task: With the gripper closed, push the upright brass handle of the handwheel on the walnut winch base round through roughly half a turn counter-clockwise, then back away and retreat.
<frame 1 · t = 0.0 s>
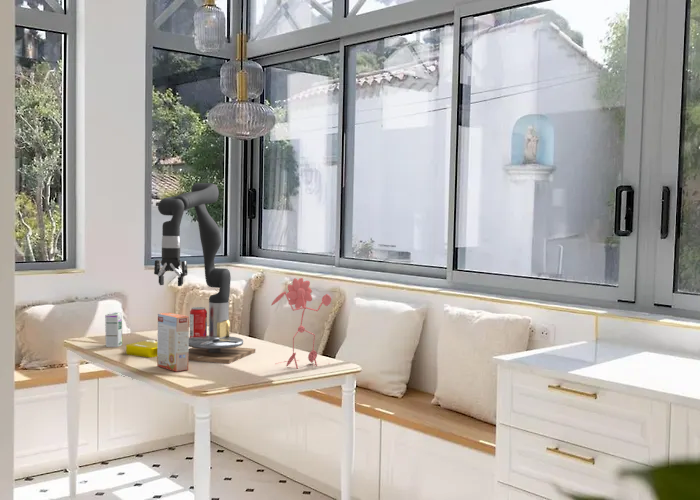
hand: (170, 285, 321), 29 cm above the table, tool pointing down, fingers open, 8 cm apart
figurine: (297, 365, 309), on the table
soda can: (198, 340, 361), on the table
handwheel: (214, 333, 324), point 9 cm above the table, hinge at 0.0°
winch base: (214, 355, 324), on the table
element tile: (149, 354, 326), on the table
cracker box: (172, 368, 297), on the table
syrup box: (113, 346, 341), on the table
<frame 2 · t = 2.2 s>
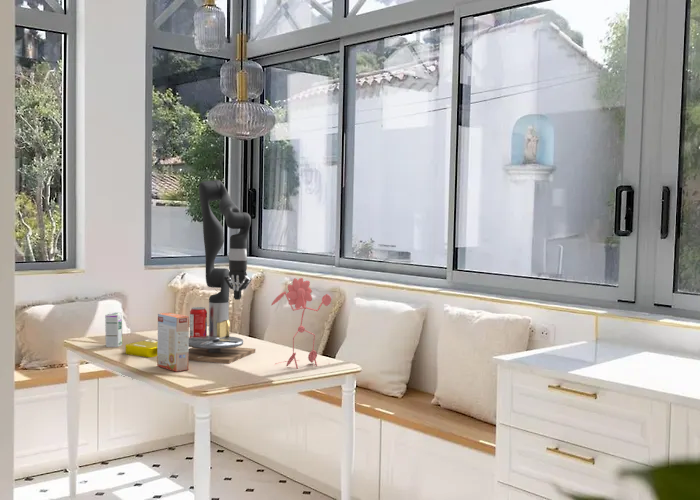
hand: (237, 299, 330), 23 cm above the table, tool pointing down, fingers closed
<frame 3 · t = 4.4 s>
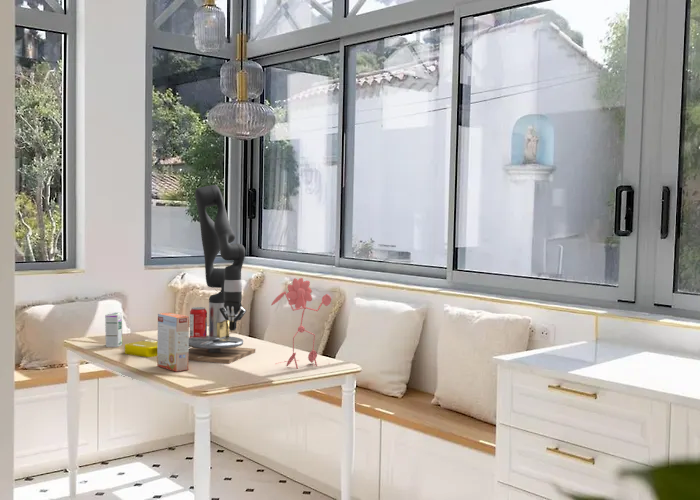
hand: (232, 330, 332), 9 cm above the table, tool pointing down, fingers closed
handwheel: (214, 333, 324), point 9 cm above the table, hinge at 0.3°, touching gripper
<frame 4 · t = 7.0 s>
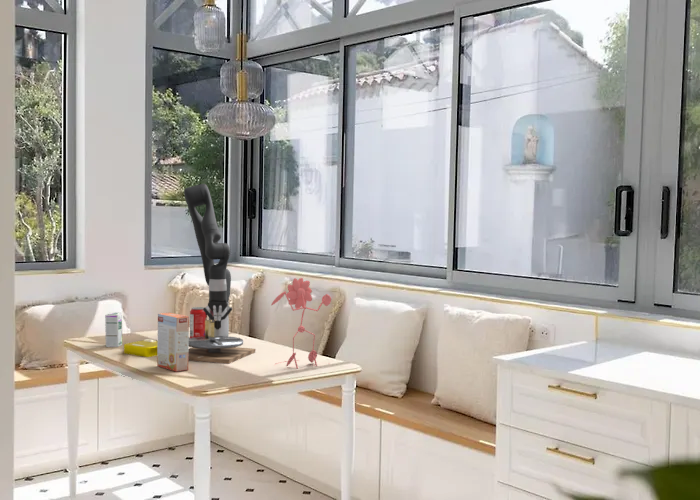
hand: (217, 329, 333), 10 cm above the table, tool pointing down, fingers closed
handwheel: (214, 333, 324), point 9 cm above the table, hinge at 40.5°, touching gripper
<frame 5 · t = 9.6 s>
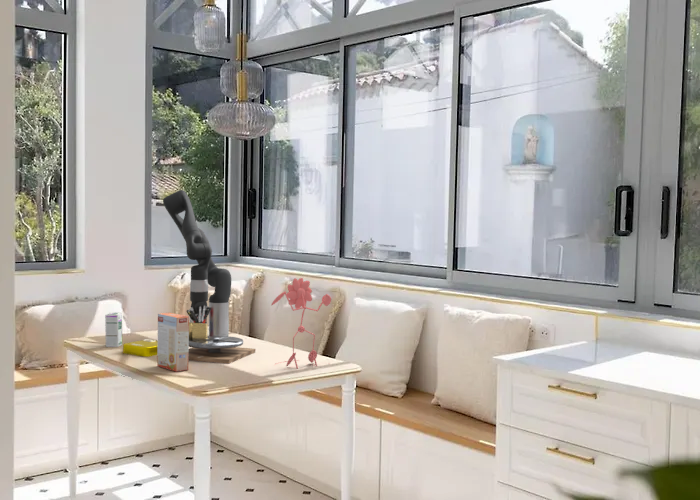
hand: (198, 330, 329), 10 cm above the table, tool pointing down, fingers closed
handwheel: (214, 333, 324), point 9 cm above the table, hinge at 92.6°, touching gripper
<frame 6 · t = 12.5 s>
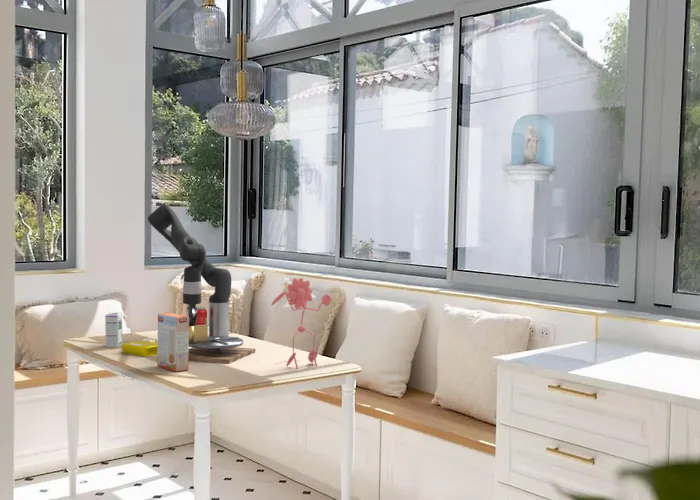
hand: (191, 333, 321), 10 cm above the table, tool pointing down, fingers closed
handwheel: (214, 333, 324), point 9 cm above the table, hinge at 144.1°, touching gripper
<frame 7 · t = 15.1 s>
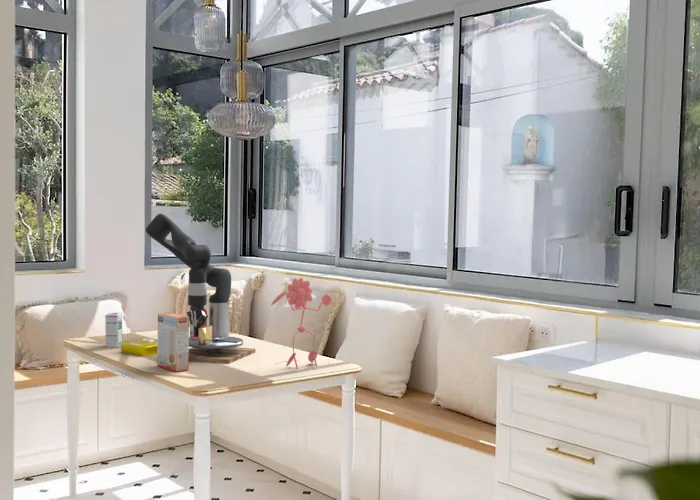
hand: (197, 335, 316), 9 cm above the table, tool pointing down, fingers closed
handwheel: (214, 333, 324), point 9 cm above the table, hinge at 179.7°
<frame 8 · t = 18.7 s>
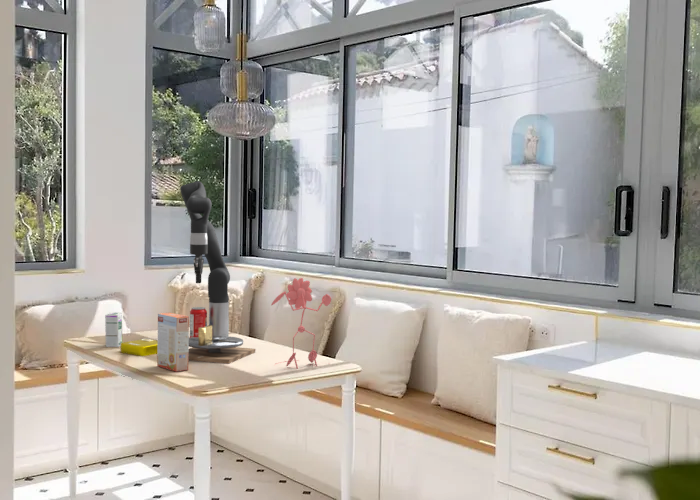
hand: (198, 283, 336), 29 cm above the table, tool pointing down, fingers closed
at the end: handwheel at +180° (first picture: +0°) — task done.
